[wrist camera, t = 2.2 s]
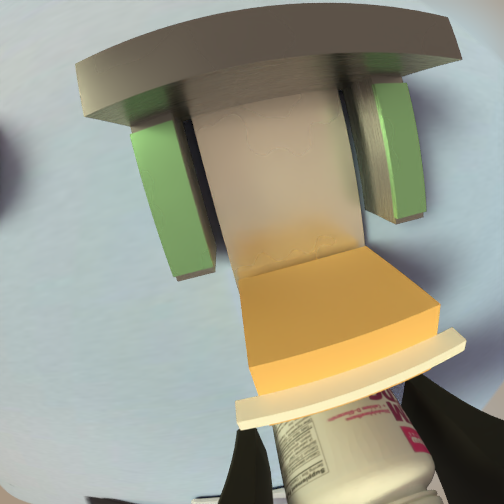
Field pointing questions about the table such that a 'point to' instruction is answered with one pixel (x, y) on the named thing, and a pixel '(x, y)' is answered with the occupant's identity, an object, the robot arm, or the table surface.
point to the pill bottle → (355, 456)
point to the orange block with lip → (335, 335)
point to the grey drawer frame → (272, 126)
